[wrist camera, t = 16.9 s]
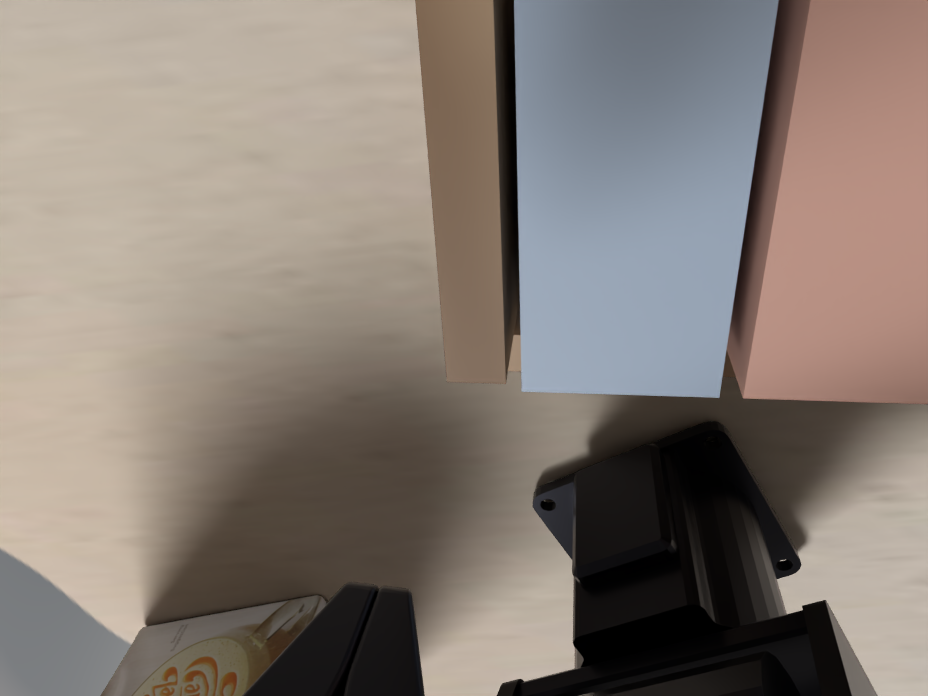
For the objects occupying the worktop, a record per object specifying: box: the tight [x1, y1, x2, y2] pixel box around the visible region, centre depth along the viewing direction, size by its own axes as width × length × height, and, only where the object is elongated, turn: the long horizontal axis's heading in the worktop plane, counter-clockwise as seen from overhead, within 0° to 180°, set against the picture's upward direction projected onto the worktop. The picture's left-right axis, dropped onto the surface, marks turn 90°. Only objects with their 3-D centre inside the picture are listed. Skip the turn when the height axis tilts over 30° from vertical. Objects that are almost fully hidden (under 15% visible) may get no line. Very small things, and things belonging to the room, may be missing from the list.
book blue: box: [514, 0, 779, 398], centre depth 14 cm, size 4×7×6 cm, turn 3°
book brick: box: [727, 0, 928, 404], centre depth 13 cm, size 4×7×6 cm, turn 3°
